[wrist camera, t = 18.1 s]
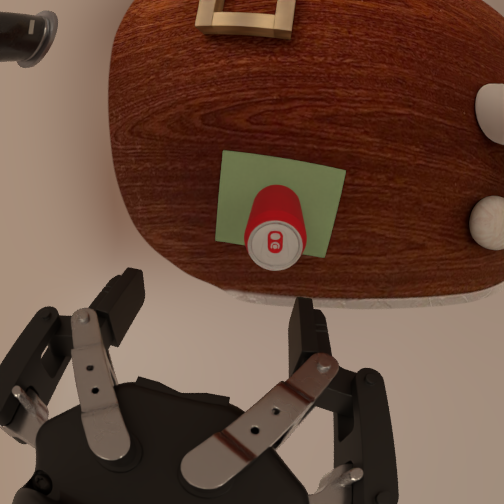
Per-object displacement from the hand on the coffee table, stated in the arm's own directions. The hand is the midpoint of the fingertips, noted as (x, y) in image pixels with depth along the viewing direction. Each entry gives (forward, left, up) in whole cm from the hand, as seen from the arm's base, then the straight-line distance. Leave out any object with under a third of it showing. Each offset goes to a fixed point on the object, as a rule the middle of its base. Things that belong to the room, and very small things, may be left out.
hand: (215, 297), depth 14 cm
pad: (+3, -3, -25) cm, 25 cm away
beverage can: (+3, -3, -24) cm, 25 cm away
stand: (-4, +25, -25) cm, 35 cm away
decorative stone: (+39, +3, -25) cm, 46 cm away
